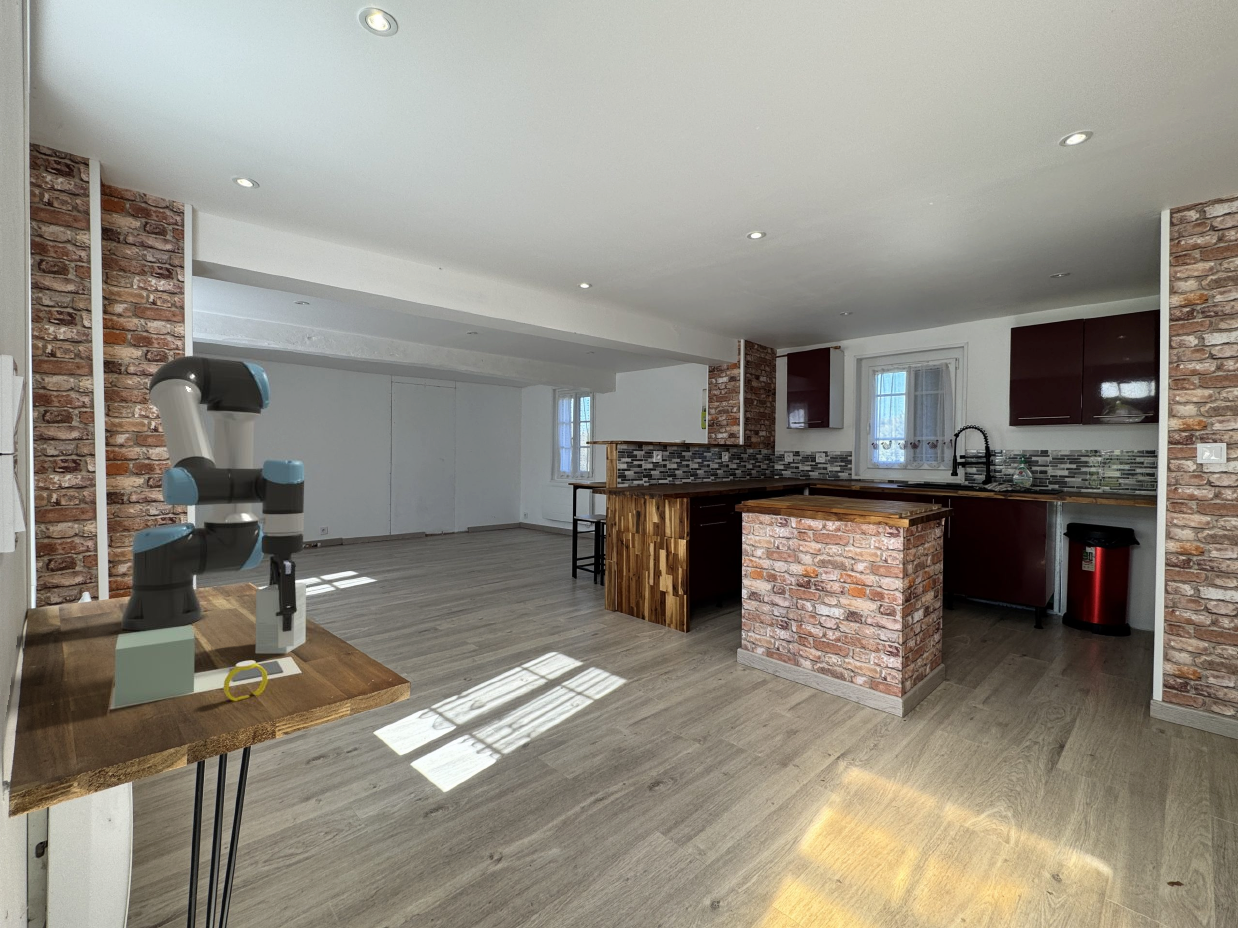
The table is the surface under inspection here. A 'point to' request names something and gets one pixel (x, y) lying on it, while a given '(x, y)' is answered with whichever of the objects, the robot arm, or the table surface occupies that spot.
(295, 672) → the base
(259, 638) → the small box
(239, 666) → the watch
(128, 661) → the block
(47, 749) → the table surface
